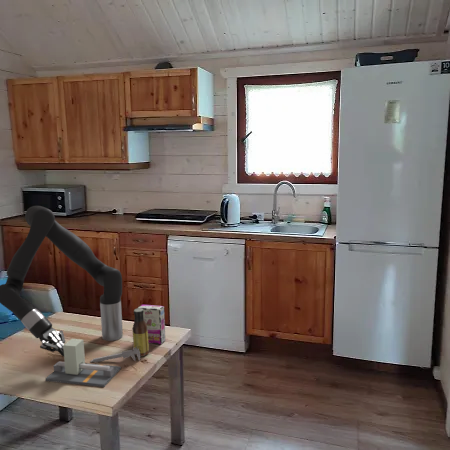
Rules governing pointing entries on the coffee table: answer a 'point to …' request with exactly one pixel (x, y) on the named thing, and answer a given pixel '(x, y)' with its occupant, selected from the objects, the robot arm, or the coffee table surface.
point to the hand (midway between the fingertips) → (67, 355)
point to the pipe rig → (84, 374)
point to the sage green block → (74, 356)
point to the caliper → (120, 355)
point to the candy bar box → (154, 323)
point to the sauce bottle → (140, 332)
